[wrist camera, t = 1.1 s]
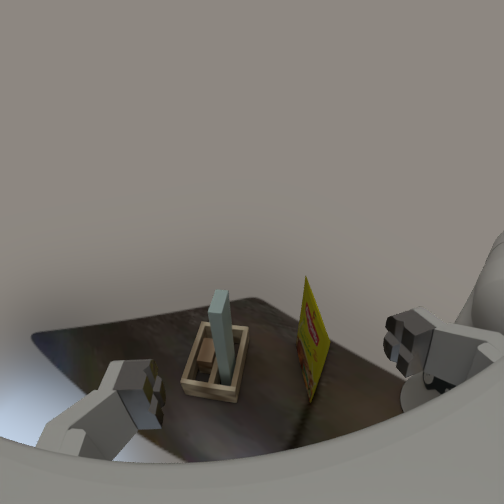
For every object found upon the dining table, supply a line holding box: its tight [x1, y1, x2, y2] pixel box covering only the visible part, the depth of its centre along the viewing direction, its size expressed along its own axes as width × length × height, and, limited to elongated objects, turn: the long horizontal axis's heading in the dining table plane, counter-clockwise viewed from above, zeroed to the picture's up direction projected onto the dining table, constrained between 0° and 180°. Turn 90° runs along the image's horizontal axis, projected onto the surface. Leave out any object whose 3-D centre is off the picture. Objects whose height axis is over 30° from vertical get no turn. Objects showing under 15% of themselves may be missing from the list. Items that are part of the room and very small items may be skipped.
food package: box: [296, 276, 330, 403], centre depth 50 cm, size 15×1×20 cm, turn 5°
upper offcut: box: [197, 338, 216, 369], centre depth 56 cm, size 3×6×2 cm, turn 172°
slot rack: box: [180, 322, 249, 403], centre depth 55 cm, size 10×16×5 cm, turn 172°
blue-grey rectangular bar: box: [208, 290, 236, 386], centre depth 49 cm, size 2×5×22 cm, turn 172°
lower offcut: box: [198, 366, 212, 374], centre depth 57 cm, size 3×6×2 cm, turn 173°
